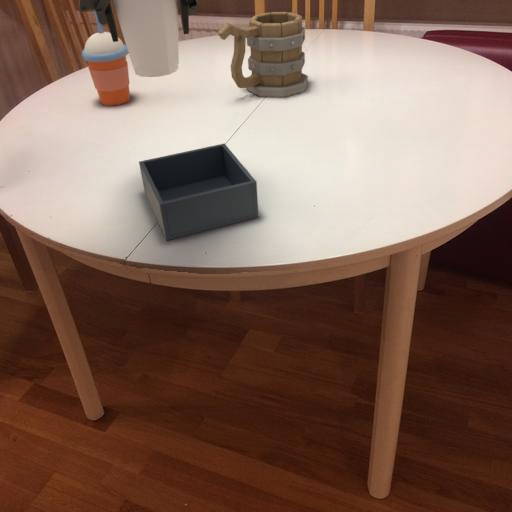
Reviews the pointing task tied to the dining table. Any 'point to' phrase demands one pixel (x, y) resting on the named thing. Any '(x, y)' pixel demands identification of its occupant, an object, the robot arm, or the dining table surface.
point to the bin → (199, 190)
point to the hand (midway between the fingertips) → (149, 29)
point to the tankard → (269, 54)
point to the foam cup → (150, 35)
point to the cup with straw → (108, 66)
